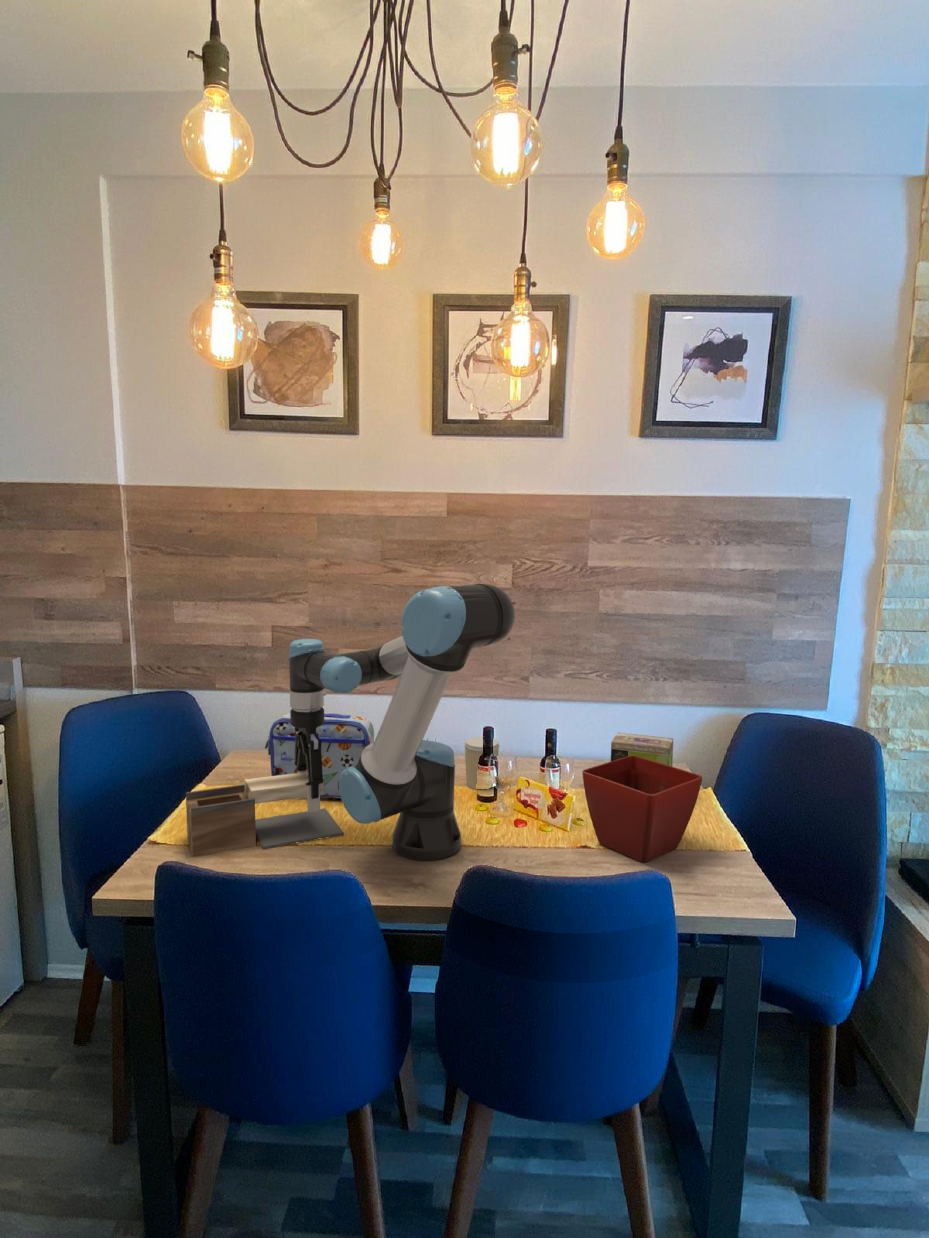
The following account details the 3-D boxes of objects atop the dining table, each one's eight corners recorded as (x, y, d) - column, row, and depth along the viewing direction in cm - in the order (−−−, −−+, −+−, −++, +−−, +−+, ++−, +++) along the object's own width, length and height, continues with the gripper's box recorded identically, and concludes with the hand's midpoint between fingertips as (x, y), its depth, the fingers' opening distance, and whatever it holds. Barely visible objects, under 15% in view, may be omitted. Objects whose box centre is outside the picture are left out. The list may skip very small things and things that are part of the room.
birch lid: (323, 794, 171) (323, 781, 170) (251, 804, 163) (251, 791, 163) (314, 783, 177) (314, 771, 177) (244, 792, 170) (244, 779, 170)
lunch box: (261, 797, 191) (259, 713, 188) (275, 783, 201) (274, 703, 198) (368, 804, 188) (368, 718, 185) (377, 788, 199) (377, 707, 195)
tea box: (671, 790, 201) (674, 737, 199) (667, 804, 192) (670, 748, 190) (615, 782, 207) (617, 730, 205) (608, 795, 197) (610, 740, 195)
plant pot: (629, 820, 181) (633, 753, 179) (699, 848, 167) (704, 775, 165) (576, 842, 169) (579, 770, 167) (647, 874, 155) (652, 796, 152)
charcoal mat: (343, 834, 170) (343, 832, 170) (262, 849, 163) (262, 846, 162) (325, 810, 184) (325, 808, 184) (249, 822, 176) (249, 820, 176)
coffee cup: (504, 782, 205) (505, 740, 203) (487, 793, 197) (488, 749, 195) (474, 776, 209) (475, 734, 208) (457, 786, 201) (457, 743, 200)
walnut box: (255, 845, 164) (254, 799, 163) (192, 856, 159) (191, 808, 157) (247, 827, 173) (246, 783, 172) (187, 837, 167) (185, 792, 166)
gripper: (337, 717, 163) (338, 817, 166) (311, 696, 181) (312, 787, 184) (302, 721, 159) (304, 823, 163) (279, 699, 178) (281, 791, 181)
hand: (308, 804), depth 173 cm, fingers closed on birch lid, 8 cm apart
